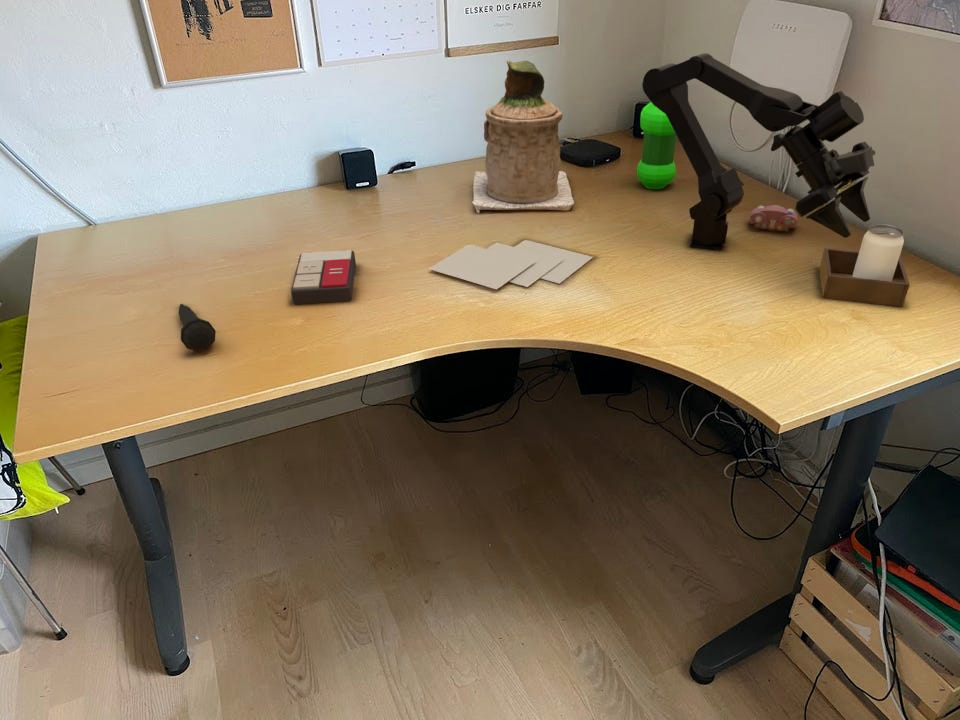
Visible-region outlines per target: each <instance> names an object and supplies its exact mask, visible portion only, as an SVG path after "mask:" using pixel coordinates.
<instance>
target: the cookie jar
mask: <svg viewBox="0 0 960 720" xmlns="http://www.w3.org/2000/svg"><path fill="white" fill-rule="evenodd" d="M506 64H507V68H508V70H507V71H506V77H505V80H504V81H503V83H504V88H505V92H504V96H502V97H501V98H500V100H499V101H498V102H497V103H496V104H495V105H492V106H489V107H487V109H486V111H485V118H486V119H485V120H484V122H483V130H484V132H483V139H484V142H486V143H487V144H486V149H485V160H484V161H485V162H484V164H485V165H484V167H485V171H475V173H474V177H473V185H472V186H473V188H472V191H473V199H472V201H471V203H472V206H473V207H474V208H475V210H476V213H477V214H479V213H480V212H481V210H490V211H491V210H492V211H493V210H494V211H506V210H507V211H510V210H511V211H512V210H514V211H515V210H551V211H566V212H569V211H570V210H571V208H572V207H573V206H574V204H575V200H574V198H573V196H572V188H571V187H570V186H571V185H570V184H569V183H570V182H569V179H568V177H567V172H565V171H563V170H561V165H562V161H561V157H560V156H561V146H560V138H559V123H560V122H561V121H562V119H563V112H562V111H561V110H560V108H559V107H558V106H555V105H554V104H553V103H552V102H550V101H549V100H547V99H544V98H543V97H542V95H543V92H544V90H545V78H544V75H542V73H541V71H539V70H538V69H537V67H536V65H535V64H534V63H533V62H531V61H529V60H522V61H515V62H513V61H511V60H510V59H508V60H506Z"/></svg>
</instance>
